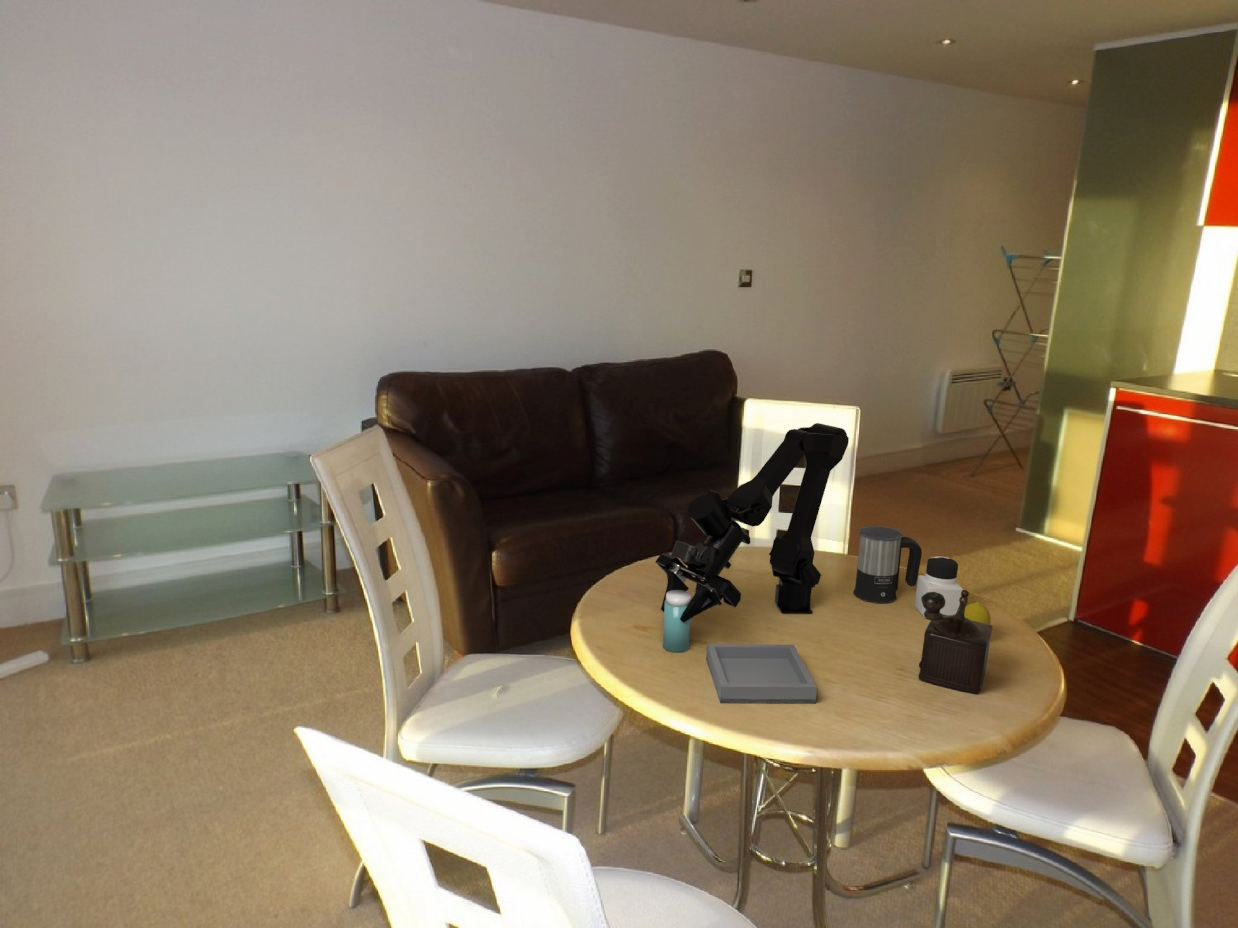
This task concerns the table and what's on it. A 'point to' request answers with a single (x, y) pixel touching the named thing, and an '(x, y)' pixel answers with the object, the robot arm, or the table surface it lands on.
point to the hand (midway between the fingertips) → (671, 615)
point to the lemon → (977, 613)
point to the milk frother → (884, 563)
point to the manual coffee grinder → (953, 647)
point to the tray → (760, 674)
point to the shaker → (676, 622)
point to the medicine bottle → (940, 584)
